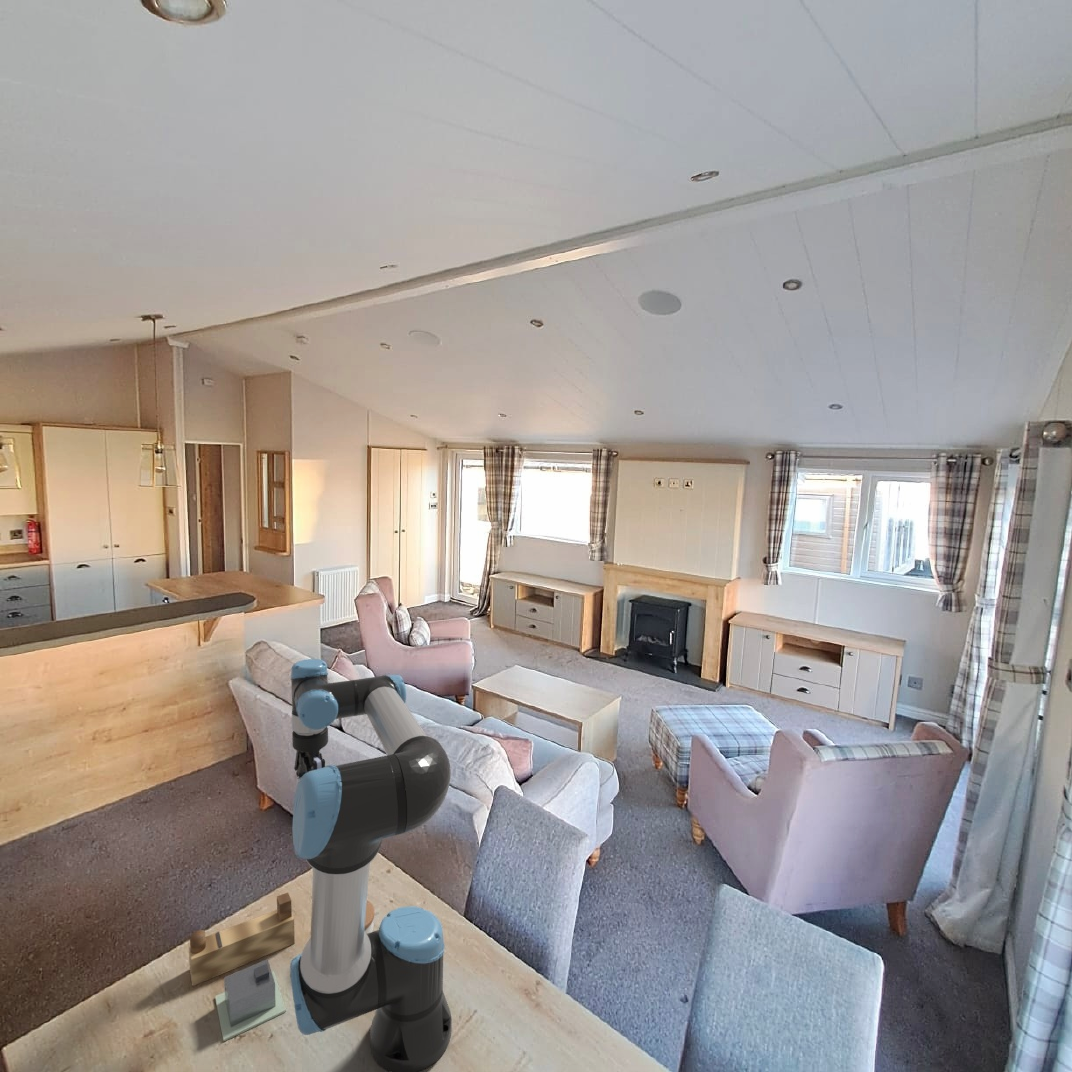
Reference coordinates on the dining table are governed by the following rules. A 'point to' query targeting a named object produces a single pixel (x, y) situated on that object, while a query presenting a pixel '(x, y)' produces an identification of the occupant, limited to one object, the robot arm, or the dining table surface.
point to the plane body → (241, 942)
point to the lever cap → (249, 992)
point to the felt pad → (252, 1022)
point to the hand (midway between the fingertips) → (311, 817)
